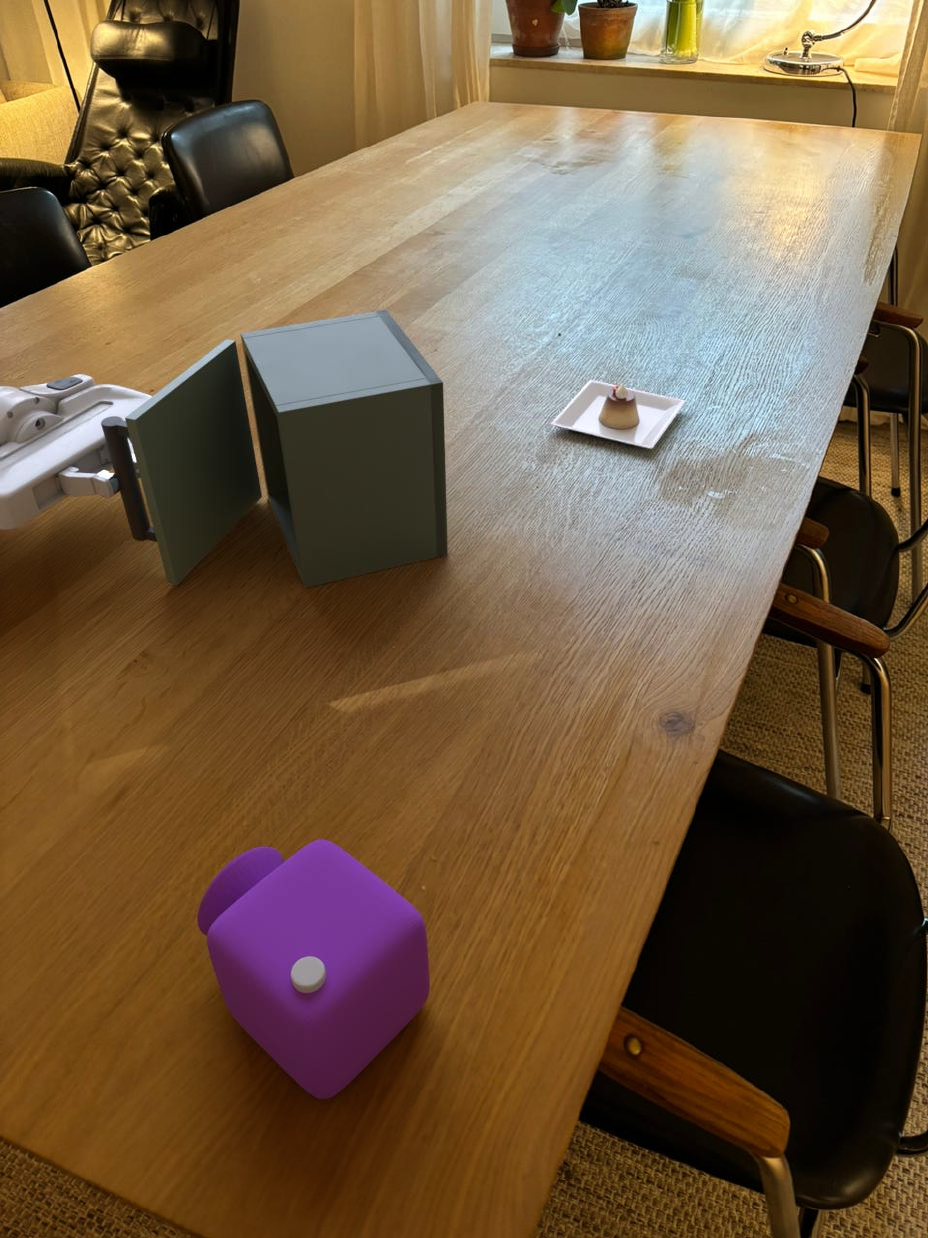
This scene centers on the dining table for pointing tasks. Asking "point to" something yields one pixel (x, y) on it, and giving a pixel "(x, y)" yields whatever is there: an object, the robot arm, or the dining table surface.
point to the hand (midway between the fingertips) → (130, 476)
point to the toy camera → (315, 959)
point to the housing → (350, 444)
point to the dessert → (619, 414)
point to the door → (188, 461)
